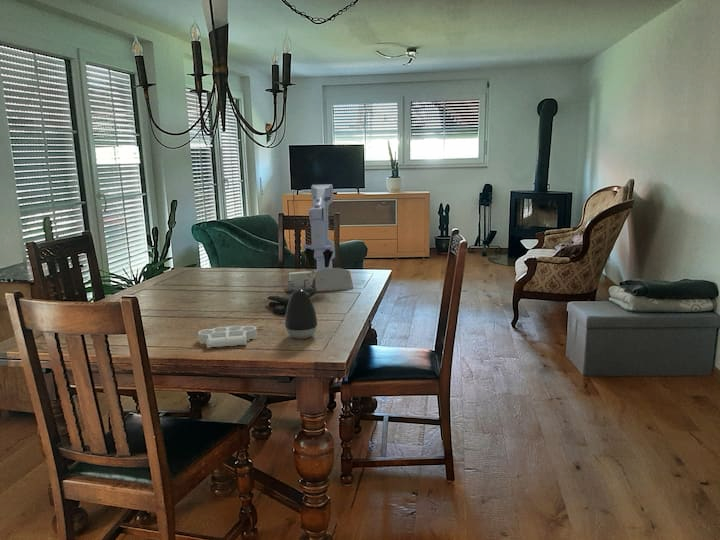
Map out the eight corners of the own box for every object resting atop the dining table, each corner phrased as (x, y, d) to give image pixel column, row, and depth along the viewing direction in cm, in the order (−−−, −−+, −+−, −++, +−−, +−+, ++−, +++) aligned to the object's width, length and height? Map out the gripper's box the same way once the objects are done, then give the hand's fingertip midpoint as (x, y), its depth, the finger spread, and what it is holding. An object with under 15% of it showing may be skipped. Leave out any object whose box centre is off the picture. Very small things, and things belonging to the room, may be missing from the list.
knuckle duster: (196, 352, 162) (200, 337, 176) (257, 346, 166) (256, 332, 180) (195, 341, 162) (199, 327, 176) (256, 336, 165) (256, 322, 179)
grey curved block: (315, 291, 233) (314, 268, 235) (314, 292, 238) (313, 270, 239) (354, 288, 236) (352, 266, 238) (352, 290, 241) (350, 267, 242)
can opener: (296, 313, 201) (296, 298, 200) (279, 316, 198) (278, 301, 196) (278, 303, 216) (277, 289, 215) (261, 305, 213) (261, 291, 211)
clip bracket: (285, 289, 239) (285, 280, 238) (310, 287, 241) (310, 278, 241) (287, 292, 232) (286, 283, 231) (312, 290, 235) (312, 281, 234)
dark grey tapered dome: (322, 338, 170) (320, 291, 167) (289, 343, 167) (287, 295, 164) (313, 329, 179) (311, 284, 177) (282, 333, 176) (280, 288, 173)
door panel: (289, 285, 246) (289, 272, 245) (311, 284, 248) (311, 271, 247) (290, 287, 243) (289, 274, 242) (312, 285, 245) (312, 272, 244)
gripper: (298, 236, 234) (300, 267, 237) (328, 237, 228) (329, 269, 230) (307, 233, 240) (308, 264, 243) (336, 235, 234) (337, 266, 237)
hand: (319, 266), depth 237 cm, fingers open, 7 cm apart
